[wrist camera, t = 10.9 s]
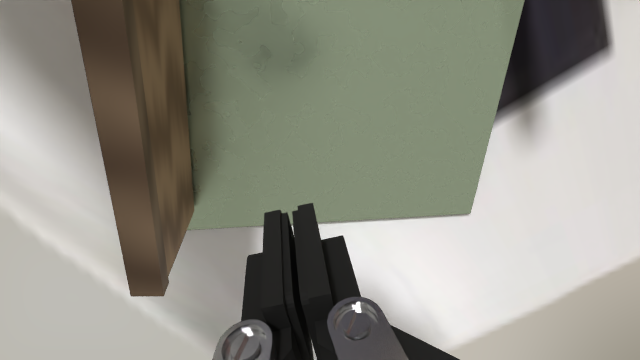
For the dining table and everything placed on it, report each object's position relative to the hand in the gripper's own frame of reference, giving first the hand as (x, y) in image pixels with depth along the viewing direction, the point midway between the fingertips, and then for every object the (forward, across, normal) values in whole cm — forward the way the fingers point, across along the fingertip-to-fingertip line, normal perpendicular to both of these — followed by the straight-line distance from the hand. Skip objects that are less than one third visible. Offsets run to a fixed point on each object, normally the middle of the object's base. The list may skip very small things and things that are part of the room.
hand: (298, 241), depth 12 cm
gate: (+18, +8, -1) cm, 20 cm away
